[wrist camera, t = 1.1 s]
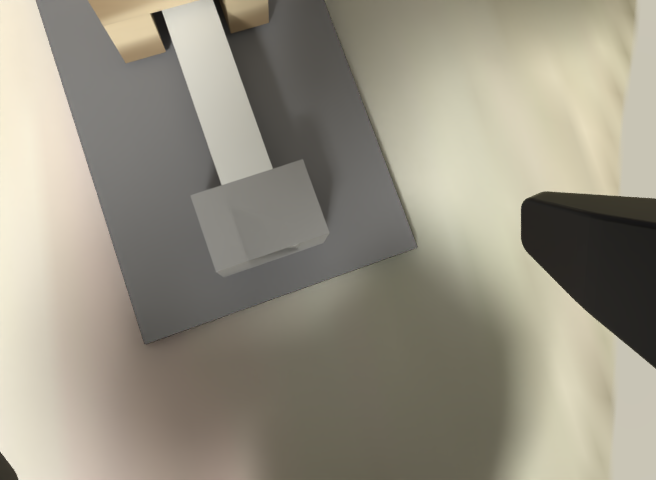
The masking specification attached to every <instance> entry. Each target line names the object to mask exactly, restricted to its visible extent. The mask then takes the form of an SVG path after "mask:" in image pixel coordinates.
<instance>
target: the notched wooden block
mask: <svg viewBox="0 0 656 480" xmlns="http://www.w3.org/2000/svg"><path fill="white" fill-rule="evenodd" d="M88 1H89V3H90V5H91V6H92V8H93V10H94V11H95V13H96V15H97V16H98V18H99V20H100V21H101V23H102V25H103V26H104V28H105V30H106V31H107V33H108V35H109V36H110V38H111V40H112V41H113V43H114V45H115V46H116V48H117V50H118V51H119V53H120V55H121V56H122V58H123V60H124V61H125V63H129V62H132V61H136V60H140V59H143V58H147V57H150V56H154V55H157V54H161V53H164V52H166V51H165V48H164V45H163V42H162V39H161V36H160V33H159V30H158V27H157V24H156V21H155V18H154V15H153V13H154V12H158V11H161V10H165V9H169V8H172V7H176V6H180V5H183V4H187V3H191V2H194V1H198V0H88ZM219 2H220V5H221V8H222V10H223V13H224V16H225V19H226V22H227V24H228V27H229V30H230V33H235V32H238V31H242V30H246V29H249V28H253V27H256V26H260V25H263V24H267V23H269V10H268V0H219Z"/></svg>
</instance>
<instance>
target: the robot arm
mask: <svg viewBox="0 0 656 480" xmlns="http://www.w3.org/2000/svg"><path fill="white" fill-rule="evenodd" d="M521 241H522V244H523V246H524V248H525V250H526V251H527V252H528V254H529V255H530V256H531V257H532V258H533V259H534V260H535V261H536V262H537V263H538V264H539V265H540V266H541V267H542V268H543V269H544V270H545V271H546V272H547V273H548V274H549V275H550V276H551V277H552V278H553V279H554V280H555V281H556V282H557V283H558V284H559V285H560V286H561V287H562V288H563V289H564V290H565V291H566V292H567V293H568V294H569V295H570V296H571V297H572V298H573V299H574V300H575V301H576V302H577V303H578V304H579V305H580V306H582V307H583V308H584V309H585V310H586V311H587V312H588V313H589V314H591V315H592V316H593V317H594V318H595V319H596V320H598V321H599V322H600V323H601V324H603V325H604V326H605V327H606V328H607V329H609V330H610V331H611V332H612V333H613V334H615V335H616V336H617V337H618V338H619V339H621V340H622V341H623V342H624V343H625V344H627V345H628V346H629V347H630V348H632V349H633V350H634V351H635V352H636V353H638V354H639V355H640V356H641V357H642V358H644V359H645V360H646V361H647V362H649V363H650V364H651V365H652V366H653V367H654V368H656V199H652V198H637V197H623V196H607V195H592V194H577V193H561V192H541V193H538V194H536V195H534V196H531V197H529V198H527V199H525V200H524V201H523V203H522V206H521ZM0 480H18V477H17V475H16V473H15V471H14V469H13V468H12V467H11V465H10V464H9V463H8V461H7V460H6V459H5V457H4V456H3V455H2V454H1V452H0Z"/></svg>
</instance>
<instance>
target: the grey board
mask: <svg viewBox="0 0 656 480" xmlns="http://www.w3.org/2000/svg"><path fill="white" fill-rule="evenodd" d="M36 3H37V6H38V9H39V12H40V15H41V18H42V22H43V25H44V28H45V31H46V34H47V37H48V40H49V44H50V47H51V50H52V53H53V56H54V59H55V63H56V66H57V69H58V72H59V75H60V78H61V82H62V85H63V88H64V91H65V94H66V97H67V100H68V104H69V107H70V110H71V113H72V116H73V119H74V123H75V126H76V129H77V132H78V135H79V138H80V142H81V145H82V148H83V151H84V154H85V157H86V161H87V164H88V167H89V170H90V173H91V176H92V179H93V183H94V186H95V189H96V192H97V195H98V198H99V202H100V205H101V208H102V211H103V214H104V217H105V221H106V224H107V227H108V230H109V233H110V236H111V240H112V243H113V246H114V249H115V252H116V255H117V258H118V262H119V265H120V268H121V271H122V274H123V277H124V281H125V284H126V287H127V290H128V293H129V296H130V300H131V303H132V306H133V309H134V312H135V315H136V319H137V322H138V325H139V328H140V331H141V334H142V337H143V341H144V344H148V343H151V342H154V341H157V340H159V339H162V338H165V337H168V336H171V335H173V334H176V333H179V332H182V331H185V330H188V329H190V328H193V327H196V326H199V325H202V324H204V323H207V322H210V321H213V320H216V319H218V318H221V317H224V316H227V315H230V314H232V313H235V312H238V311H241V310H244V309H247V308H249V307H252V306H255V305H258V304H261V303H263V302H266V301H269V300H272V299H275V298H277V297H280V296H283V295H286V294H289V293H291V292H294V291H297V290H300V289H303V288H306V287H308V286H311V285H314V284H317V283H320V282H322V281H325V280H328V279H331V278H334V277H336V276H339V275H342V274H345V273H348V272H351V271H353V270H356V269H359V268H362V267H365V266H367V265H370V264H373V263H376V262H379V261H381V260H384V259H387V258H390V257H393V256H395V255H398V254H401V253H404V252H407V251H410V250H412V249H415V248H417V244H416V242H415V239H414V236H413V234H412V231H411V228H410V226H409V223H408V221H407V218H406V215H405V213H404V210H403V207H402V205H401V202H400V199H399V197H398V194H397V191H396V189H395V186H394V184H393V181H392V178H391V176H390V173H389V170H388V168H387V165H386V162H385V160H384V157H383V155H382V152H381V149H380V147H379V144H378V141H377V139H376V136H375V133H374V131H373V128H372V126H371V123H370V120H369V118H368V115H367V112H366V110H365V107H364V104H363V102H362V99H361V96H360V94H359V91H358V89H357V86H356V83H355V81H354V78H353V75H352V73H351V70H350V67H349V65H348V62H347V60H346V57H345V54H344V52H343V49H342V46H341V44H340V41H339V38H338V36H337V33H336V31H335V28H334V25H333V23H332V20H331V17H330V15H329V12H328V9H327V7H326V4H325V1H324V0H268V10H269V23H267V24H263V25H260V26H256V27H253V28H249V29H246V30H242V31H238V32H235V33H230V30H229V27H228V24H227V22H226V19H225V16H224V13H223V10H222V8H221V5H220V2H219V0H198V1H194V2H191V3H187V4H183V5H180V6H176V7H172V8H169V9H165V10H161V11H158V12H154V13H153V15H154V18H155V21H156V24H157V27H158V30H159V33H160V36H161V39H162V42H163V45H164V48H165V51H166V52H164V53H161V54H157V55H154V56H150V57H147V58H143V59H140V60H136V61H132V62H129V63H125V61H124V60H123V58H122V56H121V55H120V53H119V51H118V50H117V48H116V46H115V45H114V43H113V41H112V40H111V38H110V36H109V35H108V33H107V31H106V30H105V28H104V26H103V25H102V23H101V21H100V20H99V18H98V16H97V15H96V13H95V11H94V10H93V8H92V6H91V5H90V3H89V1H88V0H36Z"/></svg>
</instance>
